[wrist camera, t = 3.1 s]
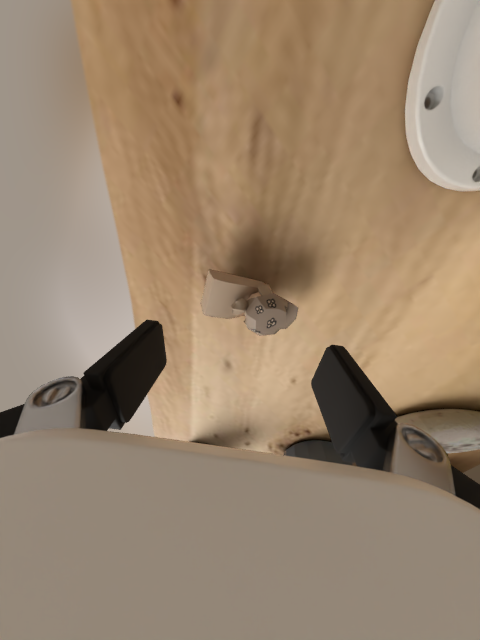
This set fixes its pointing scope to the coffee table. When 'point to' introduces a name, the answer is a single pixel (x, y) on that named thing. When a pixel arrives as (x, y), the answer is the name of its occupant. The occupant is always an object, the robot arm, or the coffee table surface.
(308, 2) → the coffee table surface
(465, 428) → the decorative stone
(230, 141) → the coffee table surface
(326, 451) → the dark blue cup
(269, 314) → the toy character
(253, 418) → the coffee table surface
